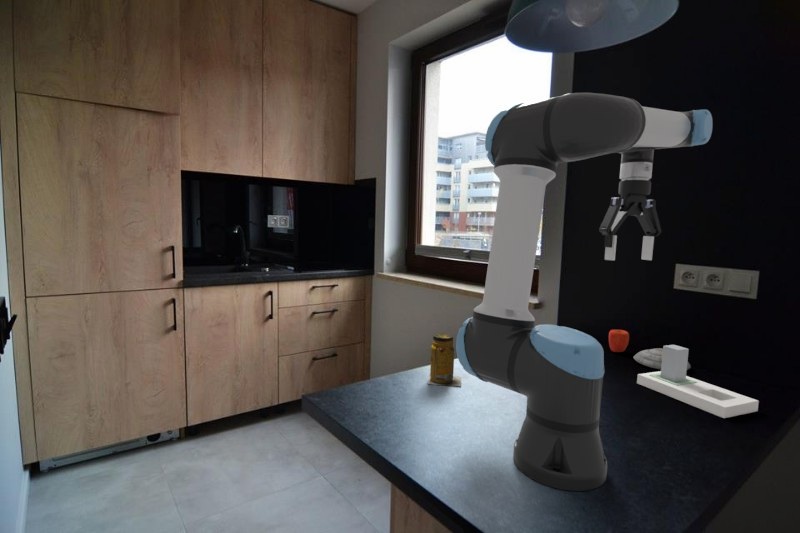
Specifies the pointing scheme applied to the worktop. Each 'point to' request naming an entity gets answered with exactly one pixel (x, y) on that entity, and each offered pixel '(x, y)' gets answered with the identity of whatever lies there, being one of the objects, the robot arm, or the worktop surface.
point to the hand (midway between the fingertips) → (628, 260)
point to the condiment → (443, 361)
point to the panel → (701, 395)
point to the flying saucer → (652, 358)
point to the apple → (618, 340)
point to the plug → (674, 363)
